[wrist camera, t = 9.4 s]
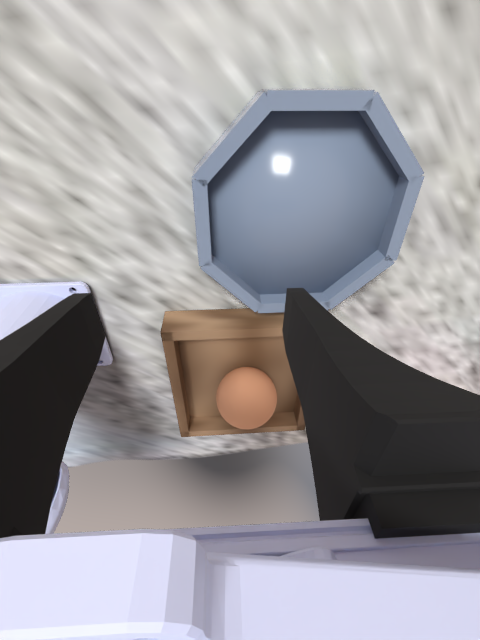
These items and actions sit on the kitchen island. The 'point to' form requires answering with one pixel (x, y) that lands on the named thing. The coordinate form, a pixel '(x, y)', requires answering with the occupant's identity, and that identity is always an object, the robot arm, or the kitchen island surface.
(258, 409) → the ball
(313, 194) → the bowl
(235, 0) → the kitchen island surface
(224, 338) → the tray
